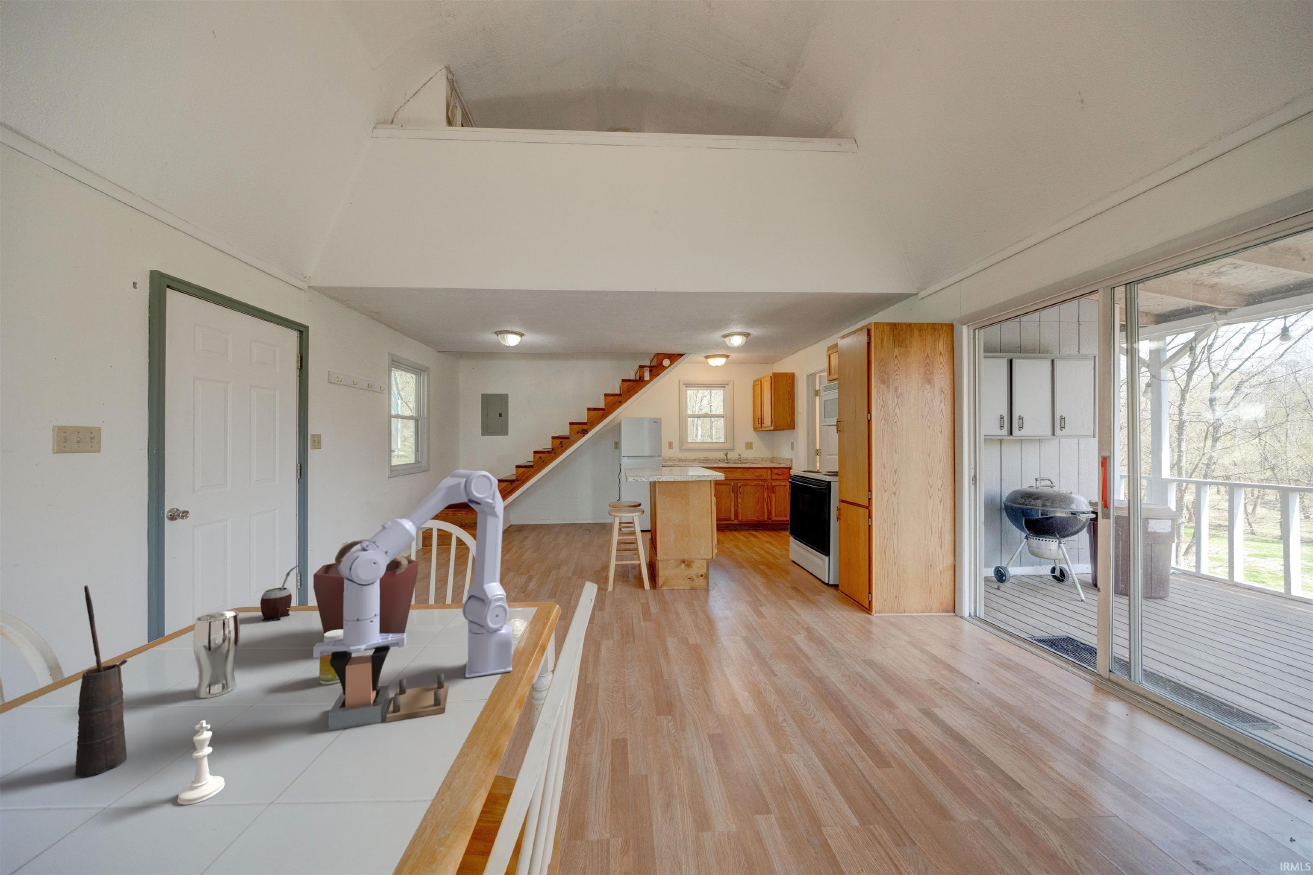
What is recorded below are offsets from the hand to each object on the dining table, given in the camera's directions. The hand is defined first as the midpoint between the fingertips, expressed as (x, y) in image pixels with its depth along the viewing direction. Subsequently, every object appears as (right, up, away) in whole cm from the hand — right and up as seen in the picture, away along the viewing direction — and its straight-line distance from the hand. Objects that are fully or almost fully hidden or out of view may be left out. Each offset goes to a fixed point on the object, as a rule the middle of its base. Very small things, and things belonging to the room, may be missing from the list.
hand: (361, 690), depth 90 cm
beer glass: (-34, -5, +9) cm, 36 cm away
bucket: (-20, -5, +35) cm, 40 cm away
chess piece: (-10, -4, -20) cm, 23 cm away
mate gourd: (-54, -6, +50) cm, 74 cm away
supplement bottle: (-14, -5, +14) cm, 20 cm away
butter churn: (-31, -4, -13) cm, 34 cm away
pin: (0, -2, 0) cm, 2 cm away
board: (+9, -5, +4) cm, 11 cm away
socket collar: (0, -4, 0) cm, 4 cm away
